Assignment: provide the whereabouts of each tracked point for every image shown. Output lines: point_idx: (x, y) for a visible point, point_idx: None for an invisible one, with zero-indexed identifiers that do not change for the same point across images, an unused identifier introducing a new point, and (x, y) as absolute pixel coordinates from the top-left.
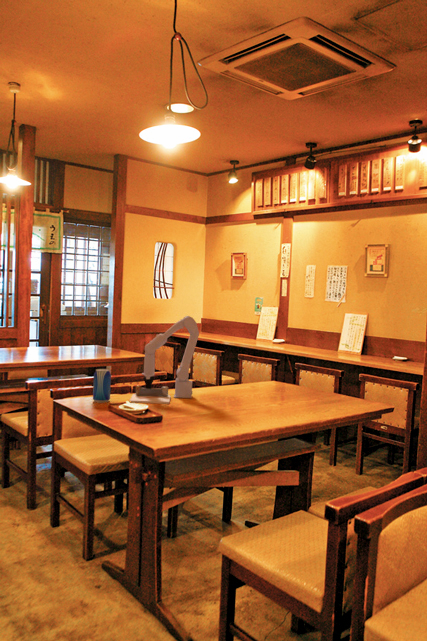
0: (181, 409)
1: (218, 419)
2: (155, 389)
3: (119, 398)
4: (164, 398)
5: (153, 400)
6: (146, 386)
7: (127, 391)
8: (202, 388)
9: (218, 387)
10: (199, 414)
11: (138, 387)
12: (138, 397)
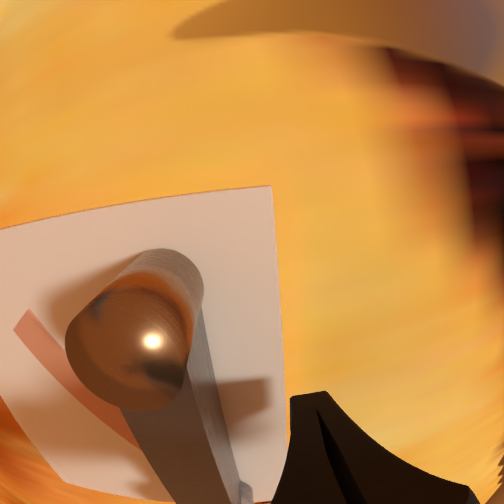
0: (18, 478)
1: (7, 501)
2: (178, 501)
3: (54, 77)
4: (138, 483)
5: (32, 421)
6: (293, 443)
7: (483, 97)
8: (488, 470)
9: (485, 485)
10: (10, 491)
11: (79, 355)
12: (53, 306)
